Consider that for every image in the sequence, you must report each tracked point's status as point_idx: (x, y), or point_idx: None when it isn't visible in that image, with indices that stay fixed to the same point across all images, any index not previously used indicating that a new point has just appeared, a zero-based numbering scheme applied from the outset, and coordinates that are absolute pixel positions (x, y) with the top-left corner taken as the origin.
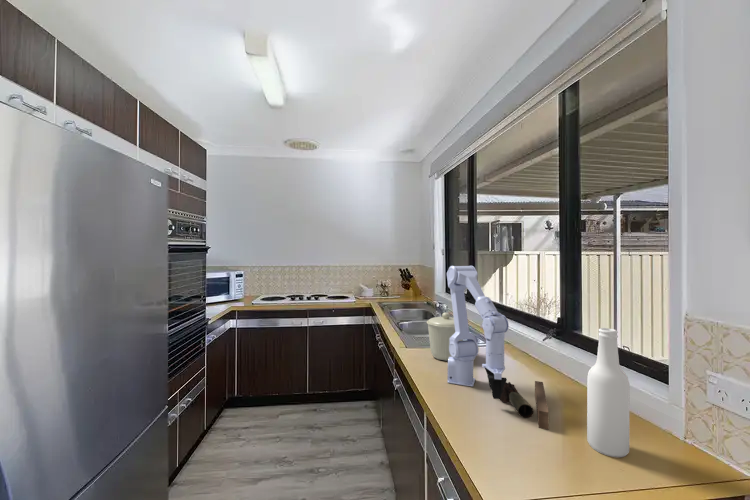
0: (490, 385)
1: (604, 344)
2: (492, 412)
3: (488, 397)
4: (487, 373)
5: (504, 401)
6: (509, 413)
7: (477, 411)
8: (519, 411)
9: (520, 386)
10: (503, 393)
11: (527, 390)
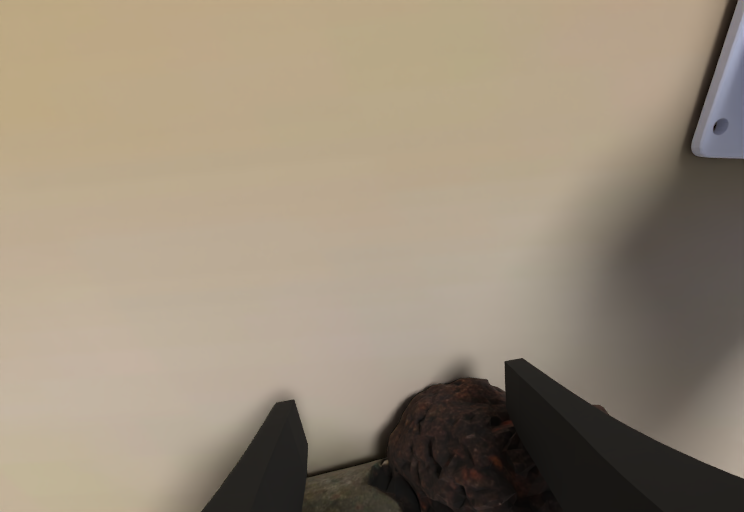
0: (523, 387)
1: None
2: (205, 349)
3: (476, 302)
4: (637, 493)
5: (402, 418)
6: None
7: (154, 245)
8: None
9: None
10: (418, 465)
11: None
